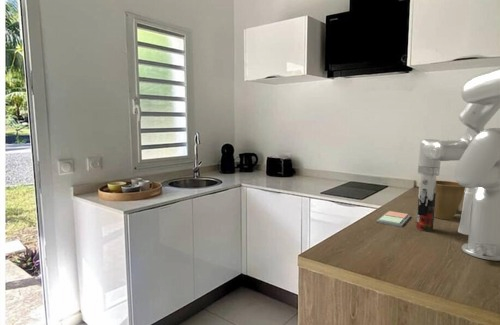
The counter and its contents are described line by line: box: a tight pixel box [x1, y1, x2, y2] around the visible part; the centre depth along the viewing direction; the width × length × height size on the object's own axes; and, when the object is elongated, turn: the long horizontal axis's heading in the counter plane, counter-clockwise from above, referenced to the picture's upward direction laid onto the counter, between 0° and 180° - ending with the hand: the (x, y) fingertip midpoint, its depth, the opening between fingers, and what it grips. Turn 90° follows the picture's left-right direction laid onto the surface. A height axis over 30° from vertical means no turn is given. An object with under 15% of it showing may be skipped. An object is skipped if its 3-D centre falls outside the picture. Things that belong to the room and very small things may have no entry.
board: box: [375, 210, 411, 228], centre depth 144 cm, size 18×10×1 cm, turn 143°
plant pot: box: [434, 180, 466, 221], centre depth 147 cm, size 15×15×16 cm
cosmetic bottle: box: [457, 188, 476, 236], centre depth 126 cm, size 6×6×22 cm
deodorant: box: [415, 192, 436, 232], centre depth 131 cm, size 6×6×15 cm
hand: (424, 212), depth 131 cm, fingers open, 9 cm apart
